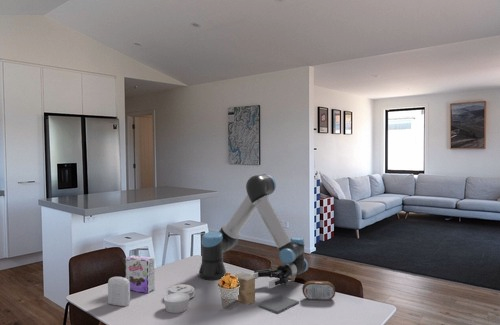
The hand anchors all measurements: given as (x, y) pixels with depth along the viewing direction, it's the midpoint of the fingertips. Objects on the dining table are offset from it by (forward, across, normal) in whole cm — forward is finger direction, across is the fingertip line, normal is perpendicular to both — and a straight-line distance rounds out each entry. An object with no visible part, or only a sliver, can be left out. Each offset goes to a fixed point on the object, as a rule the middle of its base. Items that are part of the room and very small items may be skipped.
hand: (258, 281), depth 176 cm
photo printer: (+51, +40, -7) cm, 65 cm away
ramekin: (+36, +16, -7) cm, 40 cm away
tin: (-15, -24, -7) cm, 29 cm away
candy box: (+35, +49, -7) cm, 61 cm away
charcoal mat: (+2, -14, -7) cm, 16 cm away
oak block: (+9, 0, -7) cm, 11 cm away
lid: (+26, +26, -7) cm, 38 cm away
